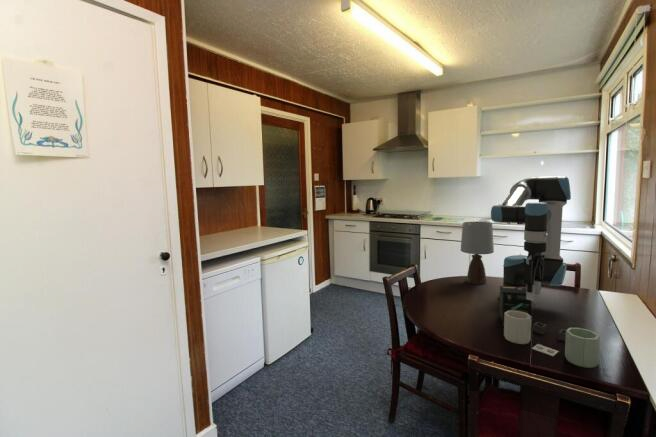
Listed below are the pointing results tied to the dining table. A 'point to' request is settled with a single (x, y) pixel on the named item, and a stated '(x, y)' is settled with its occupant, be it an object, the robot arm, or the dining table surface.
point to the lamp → (477, 248)
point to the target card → (545, 350)
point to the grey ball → (537, 287)
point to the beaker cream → (517, 327)
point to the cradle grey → (540, 328)
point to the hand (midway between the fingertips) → (533, 298)
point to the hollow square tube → (562, 334)
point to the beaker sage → (582, 347)
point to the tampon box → (513, 300)
